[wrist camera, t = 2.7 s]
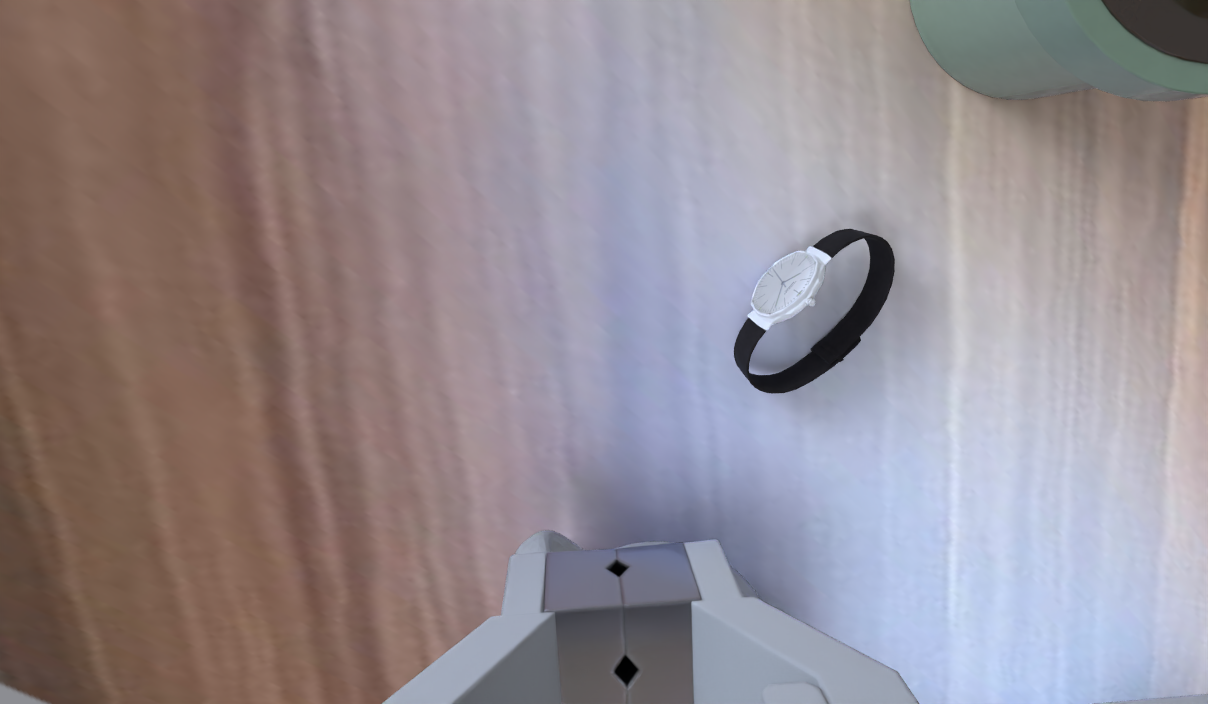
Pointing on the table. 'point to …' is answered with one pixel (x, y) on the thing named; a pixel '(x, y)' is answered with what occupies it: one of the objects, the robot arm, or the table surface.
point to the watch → (794, 289)
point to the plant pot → (1070, 46)
